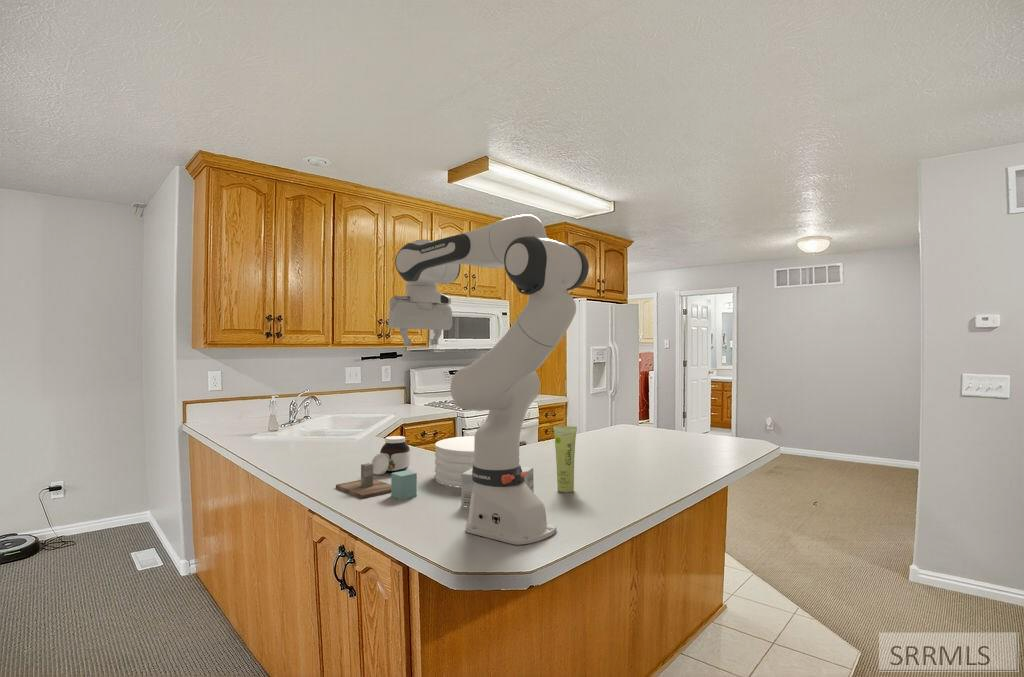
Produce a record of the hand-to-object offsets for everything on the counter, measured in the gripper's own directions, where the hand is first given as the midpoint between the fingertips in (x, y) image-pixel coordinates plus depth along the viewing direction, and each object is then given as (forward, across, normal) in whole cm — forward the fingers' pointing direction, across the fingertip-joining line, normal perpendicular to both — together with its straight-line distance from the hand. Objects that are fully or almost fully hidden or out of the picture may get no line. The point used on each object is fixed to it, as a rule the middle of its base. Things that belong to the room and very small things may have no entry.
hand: (421, 345), depth 151 cm
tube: (+44, +35, -25) cm, 62 cm away
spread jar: (+44, +10, +32) cm, 56 cm away
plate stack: (+44, +27, +6) cm, 52 cm away
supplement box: (+44, +12, -20) cm, 50 cm away
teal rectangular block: (+44, -3, +4) cm, 44 cm away
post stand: (+44, -7, +18) cm, 48 cm away
